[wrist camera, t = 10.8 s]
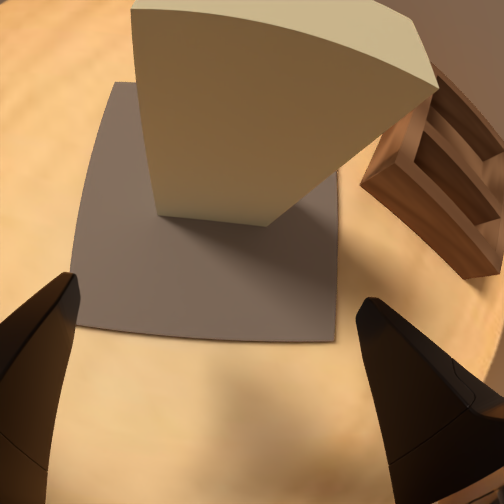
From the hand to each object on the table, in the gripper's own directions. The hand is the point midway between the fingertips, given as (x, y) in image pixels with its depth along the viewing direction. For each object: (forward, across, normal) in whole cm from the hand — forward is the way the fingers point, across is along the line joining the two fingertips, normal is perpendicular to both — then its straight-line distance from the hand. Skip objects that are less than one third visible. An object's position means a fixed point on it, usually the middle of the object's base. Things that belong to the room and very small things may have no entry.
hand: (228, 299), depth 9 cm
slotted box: (+14, -18, -3) cm, 23 cm away
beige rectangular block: (+9, 0, +1) cm, 9 cm away
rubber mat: (+10, 0, +2) cm, 10 cm away
